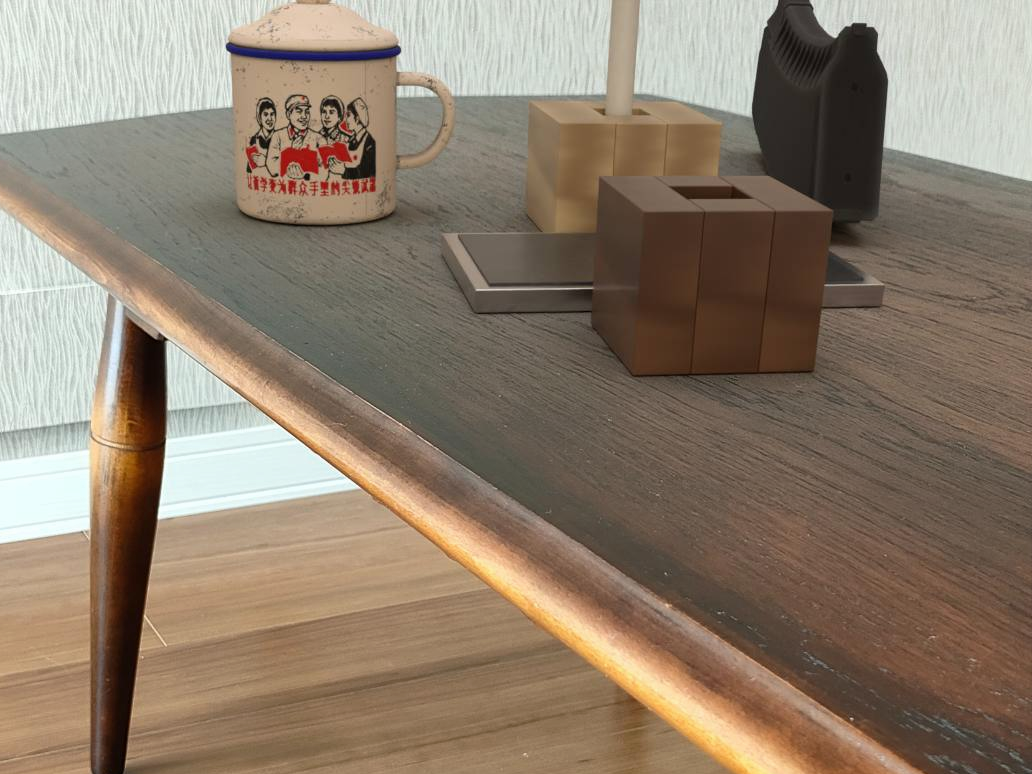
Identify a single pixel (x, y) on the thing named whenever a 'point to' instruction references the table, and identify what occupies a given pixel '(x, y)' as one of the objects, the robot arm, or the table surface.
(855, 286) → the shallow grey tray
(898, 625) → the table surface
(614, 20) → the stylus
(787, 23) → the ribbed dark grey housing
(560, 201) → the pen stand
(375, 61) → the teacup with lid
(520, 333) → the table surface
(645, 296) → the stylus rest
